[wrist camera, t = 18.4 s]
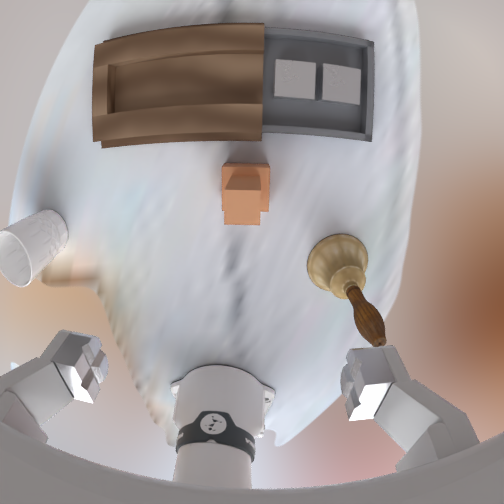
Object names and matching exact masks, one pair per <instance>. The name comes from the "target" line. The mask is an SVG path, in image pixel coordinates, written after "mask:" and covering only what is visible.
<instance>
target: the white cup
mask: <svg viewBox="0 0 504 504" xmlns="http://www.w3.org/2000/svg"><path fill="white" fill-rule="evenodd" d="M67 241H68V230H67V227H66V224H65V221H64V220H63V219H62V217H61V216H60V215H59V214H58V213H57V212H55V211H53V210H51V209H50V210H42V211H40V212H38V213H36V214H33V215H31V216H28V217H27V218H24V219H22V220H20V221H18V222H16V223H14V224H12V225H10V226H8V227H6V228H5V229H3V230H1V231H0V271H1V272H2V274H3V275H4V276H5V278H6V279H7V280H9V282H11V283H12V284H14V285H15V286H18V287H25V286H27V285H29V283H30V282H31V281H32V280H33V279H34V278H35V277H36V276H37V275H38V274H39V273H40V272H41V271H42V270H43V269H44V268H45V267H46V266H47V265H48V264H49V263H50V262H51V261H52V260H53V259H54V258H55V257H56V255H57V254H58V253H59V252H60V251H62V250H63V249H64V248H65V246H66V243H67Z"/></svg>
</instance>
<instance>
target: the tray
mask: <svg viewBox="0 0 504 504" xmlns="http://www.w3.org/2000/svg"><path fill="white" fill-rule="evenodd" d="M276 59H280V60H292V61H303V62H312V63H316V73H315V99H314V100H312V101H299V100H288V99H273V82H274V64H275V60H276ZM323 63H325V64H332V65H339V66H344V67H350V68H355V69H361V81H360V105H355V106H347V105H340V104H333V103H325V102H317V101H316V100H317V75H318V68H319V67H320V66H321V65H322V64H323ZM262 104H263V111H262V132H263V133H286V134H302V135H315V136H326V137H336V138H345V139H353V140H361V141H369V142H372V129H373V110H374V42H373V41H369V40H364V39H359V38H354V37H349V36H343V35H338V34H331V33H324V32H317V31H308V30H298V29H286V28H268V27H264V55H263V99H262Z"/></svg>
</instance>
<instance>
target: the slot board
mask: <svg viewBox="0 0 504 504" xmlns="http://www.w3.org/2000/svg"><path fill="white" fill-rule="evenodd" d="M263 55H264V23H218V24H202V25H190V26H181V27H173V28H166V29H159V30H153V31H147V32H141V33H136V34H131V35H127V36H122V37H118V38H114V39H110V40H106V41H103V43H101V44H97V45H95V50H94V63H93V86H92V126H93V142H97V141H101V145H102V148H110V147H119V146H129V145H139V144H152V143H167V142H188V141H261V139H262V111H263V104H262V99H263Z"/></svg>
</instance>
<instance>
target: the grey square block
mask: <svg viewBox="0 0 504 504" xmlns="http://www.w3.org/2000/svg"><path fill="white" fill-rule="evenodd" d="M360 81H361V69H355V68H350V67H344V66H339V65H332V64H325V63H323V64H322V65H321V66H320V67H319V68H318V75H317V100H316V101H317V102H325V103H333V104H340V105H347V106H355V105H360Z"/></svg>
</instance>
